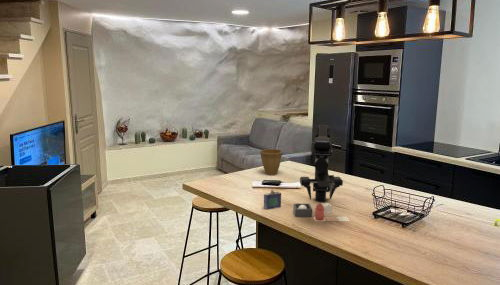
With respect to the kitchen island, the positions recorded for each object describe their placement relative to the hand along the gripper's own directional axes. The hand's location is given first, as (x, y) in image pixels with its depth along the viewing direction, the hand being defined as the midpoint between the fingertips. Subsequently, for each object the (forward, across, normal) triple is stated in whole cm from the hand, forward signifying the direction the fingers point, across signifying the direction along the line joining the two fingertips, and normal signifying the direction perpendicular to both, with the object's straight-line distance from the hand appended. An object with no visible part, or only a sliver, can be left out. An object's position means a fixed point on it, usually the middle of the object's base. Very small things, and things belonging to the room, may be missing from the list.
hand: (320, 199), depth 172 cm
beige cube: (+10, +5, +9) cm, 14 cm away
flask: (+12, -21, +15) cm, 28 cm away
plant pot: (+12, -17, +83) cm, 86 cm away
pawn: (+10, 0, 0) cm, 10 cm away
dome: (+10, -7, +6) cm, 14 cm away
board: (+11, +1, +4) cm, 12 cm away
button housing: (+10, -7, +6) cm, 14 cm away
